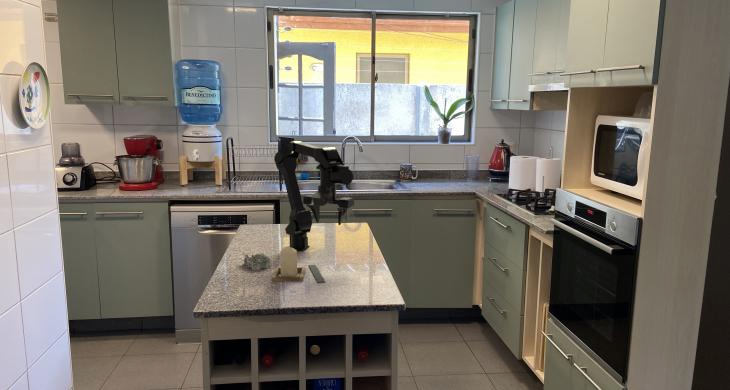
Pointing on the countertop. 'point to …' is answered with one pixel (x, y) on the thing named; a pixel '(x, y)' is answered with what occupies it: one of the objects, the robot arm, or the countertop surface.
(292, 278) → the keeper frame
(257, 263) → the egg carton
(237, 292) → the countertop surface
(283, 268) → the candle
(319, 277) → the strip
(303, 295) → the countertop surface
